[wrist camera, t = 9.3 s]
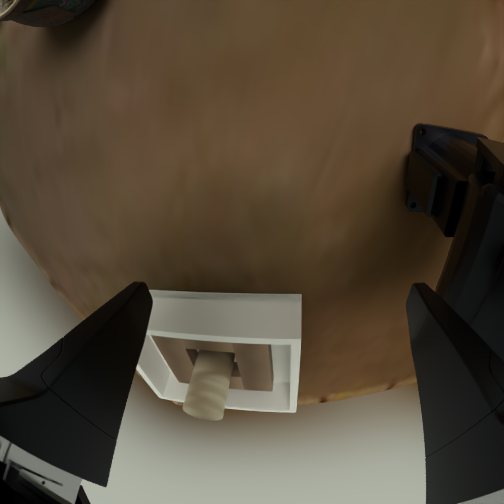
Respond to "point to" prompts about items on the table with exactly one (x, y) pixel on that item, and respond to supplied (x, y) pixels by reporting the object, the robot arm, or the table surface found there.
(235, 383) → the bore plate
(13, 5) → the mate gourd
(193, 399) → the peg
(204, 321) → the open box
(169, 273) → the table surface
